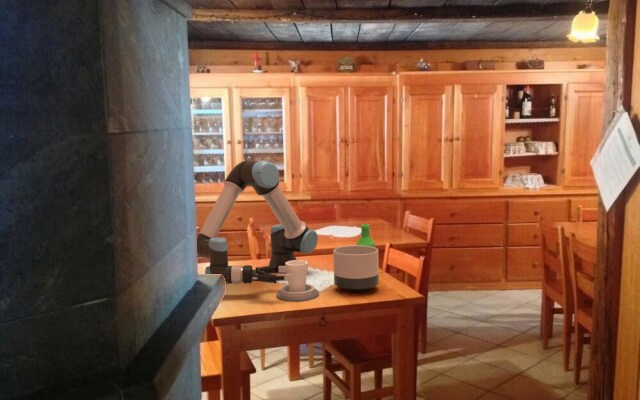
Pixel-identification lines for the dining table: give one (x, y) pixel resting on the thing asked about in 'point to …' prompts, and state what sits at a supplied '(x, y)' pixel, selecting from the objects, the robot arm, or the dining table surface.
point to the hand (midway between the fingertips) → (293, 273)
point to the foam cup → (297, 274)
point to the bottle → (365, 236)
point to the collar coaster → (297, 293)
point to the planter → (356, 267)
